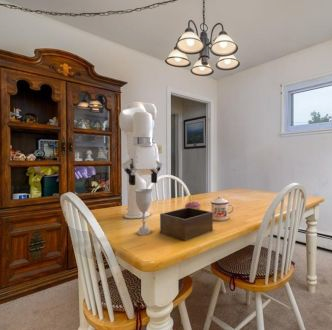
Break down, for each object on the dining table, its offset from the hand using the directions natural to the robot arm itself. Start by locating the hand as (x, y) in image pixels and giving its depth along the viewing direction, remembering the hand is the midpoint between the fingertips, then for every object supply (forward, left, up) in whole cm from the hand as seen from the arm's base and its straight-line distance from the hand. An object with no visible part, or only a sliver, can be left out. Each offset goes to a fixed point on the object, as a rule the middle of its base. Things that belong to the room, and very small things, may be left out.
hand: (143, 183), depth 93 cm
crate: (+13, +12, -21) cm, 27 cm away
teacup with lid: (+12, +37, -21) cm, 44 cm away
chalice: (0, 0, -21) cm, 21 cm away
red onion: (-6, +33, -21) cm, 40 cm away
